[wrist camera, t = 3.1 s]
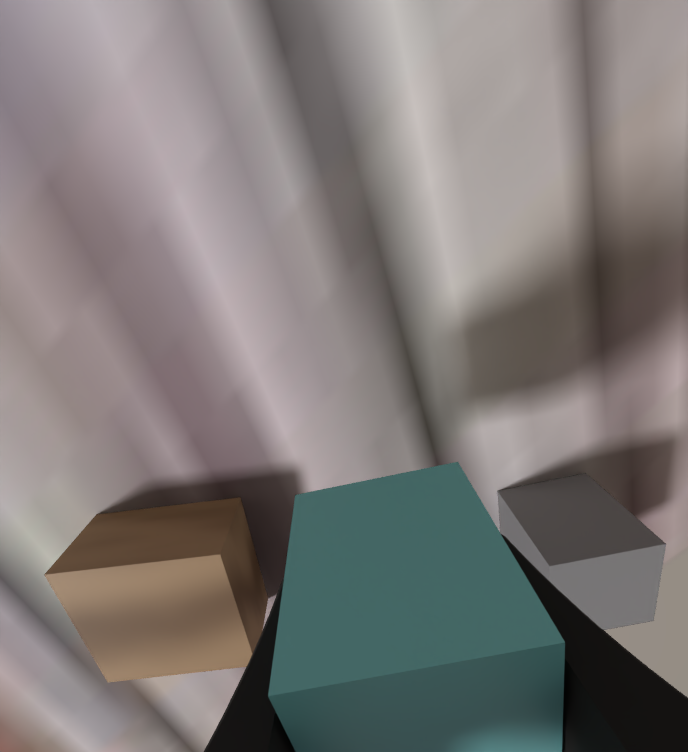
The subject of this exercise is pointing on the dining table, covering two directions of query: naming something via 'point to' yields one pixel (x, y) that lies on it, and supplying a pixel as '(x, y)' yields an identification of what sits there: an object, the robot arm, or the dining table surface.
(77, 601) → the base block
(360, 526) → the teal cube
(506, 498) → the gray cube
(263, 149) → the dining table surface
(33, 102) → the dining table surface
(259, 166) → the dining table surface
